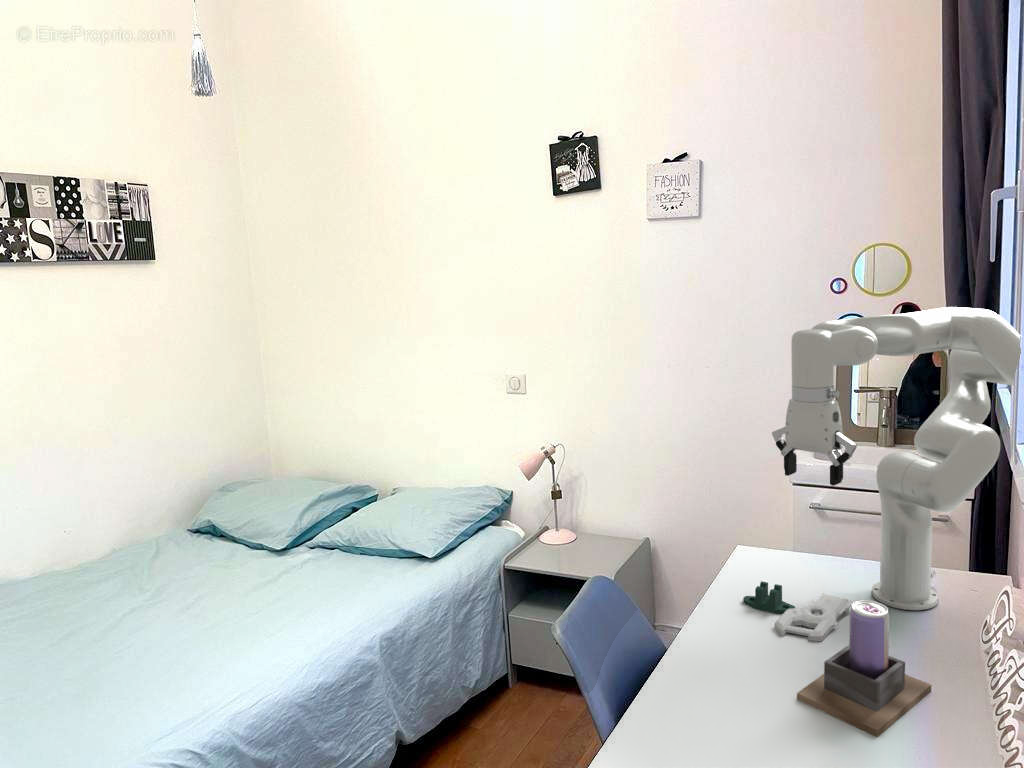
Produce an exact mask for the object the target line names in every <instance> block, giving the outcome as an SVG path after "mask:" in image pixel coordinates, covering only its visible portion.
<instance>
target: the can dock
mask: <svg viewBox="0 0 1024 768" xmlns="http://www.w3.org/2000/svg"><path fill="white" fill-rule="evenodd" d="M849 656H850V643H849V644H848V645H846V646H845V647H843V648H842V649H841V650H839V651H838V652H836V653H835V654H833V655H832V656H830V657H829V658H828V659H826V660H824V662H823V664H824V665H823V669H824V670H823V672H824V673H823V674H822V675H820V676H819V677H817V678H816V679H814V680H813V681H812V682H810V683H809V684H807V685H806V686H804V687H803V688H802V689H801V690H799V691H797V693H796V700H797V701H800V702H802V703H804V704H807V705H808V706H810V707H813V709H814V708H815V709H817V710H818V711H820V712H822V713H825V714H828V715H830V716H832V717H833V718H836V719H838V720H840V721H843V722H845V723H847V724H849V725H850V726H853V727H855V728H857V729H860V730H861V731H864V732H866V733H868V734H870V735H872V736H874V737H876V738H878V737H879V736H881V735H882V734H883V733H884V732H885V731H886V730H887V729H888V728H890V727H891V726H892V725H894V724H895V723H896V722H897V721H898V720H899V719H901V718H902V717H903V716H904V715H905V714H906V713H907V712H909V711H910V710H911V709H913V708H914V706H916V705H917V704H918V703H919V702H920V701H921V700H923V699H924V697H926V696H927V695H928V694H929V693H931V692H932V683H928V682H926V681H923V680H921V679H918V678H916V677H913V676H912V675H911V676H910V675H908V674H906V662H905V661H903V660H901V659H898V658H895V657H893V656H890V655H889V659H888V670H887V671H886V672H884V673H883V674H882V675H881V676H879V677H878V678H877V679H875V680H874V679H872V678H869V677H867V676H864V675H862V674H860V673H857V672H855V671H852V670H850V669H849Z"/></svg>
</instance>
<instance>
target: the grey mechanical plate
mask: <svg viewBox="0 0 1024 768" xmlns="http://www.w3.org/2000/svg"><path fill="white" fill-rule="evenodd" d="M851 605H852V603H850V602H849V600H848V599H847V598H843V597H837V596H833V595H829V594H827V593H822V594H821V595H820V597H818V598H817V600H816V601H814V600H813V599H812V600H811V601H810V602H809V603H808V604H805V605H804V606H801V607H798V608H797V607H795V608H793V609H788V610H786V611H785V612H784V613H783V614H780V617H778V619H777V620H776V621H774V630H775V631H776V632H778V633H779V635H781V636H782V637H785V635H786V634H787V633H791V634H795V635H800V636H805V637H808V642H823V641H824V639H825V638H827V636H828V635H829V633H830V632H831V631H832V630H834V629H836V628H837V627H838V623H839V622H838V621H837V619H838V618H839V617H840V616H842V614H843V613H844V612H845V611H846V610H847V609H848V610H849V609H850V608H851ZM799 626H802V627H799ZM803 626H804V628H803ZM805 627H806V628H805Z"/></svg>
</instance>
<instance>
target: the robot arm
mask: <svg viewBox="0 0 1024 768" xmlns="http://www.w3.org/2000/svg"><path fill="white" fill-rule="evenodd" d="M1020 336H1021V335H1020V334H1019V332H1018V331H1017V330H1016V329H1015V328H1014V327H1013V326H1012V325H1011V324H1010V323H1009V322H1007V320H1006V319H1004V318H1003V317H1002V316H1000V315H999V314H997V313H996V312H994V311H992V310H990V309H985V308H974V307H973V308H972V307H957V306H954V307H953V306H948V307H947V306H946V307H940V308H932V309H928V310H927V309H926V310H921V311H913V312H906V313H897V314H895V313H893V314H885V315H877V316H863V317H852V318H844V319H843V318H842V319H837V320H836V319H835V320H829V321H823V322H819V323H817V324H815V325H814V326H813V327H812V328H810V329H801V330H797V331H795V332H794V333H793V334H792V336H791V342H790V343H791V347H790V348H791V398H790V399H789V401H788V405H787V409H786V413H785V414H786V415H785V423H784V424H785V426H783V427H781V428H778V429H776V430H773V431H772V432H771V435H772V438H773V439H774V441H775V446H776V447H777V448H778V450H780V454H781V456H782V457H783V469H784V476H787V477H788V476H791V475H793V474H795V473H797V469H798V467H797V462H798V461H797V453H795V451H796V450H798V451H802V452H807V453H808V452H809V453H814V454H820V455H826V456H827V458H828V459H829V460H830V462H831V463H832V464H831V465H830V466H829V484H830V486H832V487H833V486H837V485H838V484H840V483H842V481H843V479H844V464H845V463H846V462H848V460H849V459H851V458H852V457H853V454H854V453H855V451H856V449H857V447H858V445H857V443H856V442H854V441H853V440H851V439H849V438H848V437H847V436H845V435H844V431H843V422H842V415H841V409H840V405H839V401H837V400H834V399H835V398H839V397H840V393H841V392H840V391H839V390H836V389H835V385H834V382H835V381H834V376H835V375H834V373H835V372H834V371H835V370H834V369H835V367H836V366H854V367H855V366H860V365H864V364H866V363H868V362H870V361H871V360H872V359H873V358H874V357H875V356H876V355H878V356H886V357H887V356H888V357H908V356H909V357H910V356H915V355H921V354H927V353H935V352H940V351H947V350H951V351H950V353H949V356H948V357H949V358H948V363H949V364H948V365H949V373H950V374H949V375H950V385H949V390H948V392H947V395H946V396H945V397H944V399H943V400H942V401H941V403H940V404H939V405H938V406H937V407H936V408H935V409H934V410H933V412H932V413H931V414H930V415H929V416H928V418H927V419H926V420H925V421H924V422H923V424H922V425H920V427H919V428H918V430H917V432H916V433H915V435H914V438H913V442H914V448H916V450H917V451H918V452H919V453H920V454H921V455H919V454H915V453H911V452H906V451H894V452H891V453H888V454H887V455H885V456H883V458H882V459H881V460H880V461H879V463H878V465H877V468H876V483H877V488H878V489H877V490H878V494H879V500H880V518H881V520H880V557H879V558H880V563H879V564H880V565H879V567H880V570H879V571H880V572H879V573H880V574H879V576H880V577H879V581H878V582H875V583H874V584H873V586H872V587H871V593H872V596H873V597H874V599H876V600H877V602H879V603H881V604H883V605H885V606H889V607H890V608H894V609H900V610H905V611H923V610H929V609H931V608H934V607H936V606H937V605H938V604H939V595H938V592H937V591H935V589H933V588H932V587H931V581H932V579H933V578H935V577H936V576H937V572H936V570H934V569H933V568H932V545H933V544H932V543H933V519H932V518H933V516H932V513H931V510H932V511H935V512H937V513H939V512H940V513H947V512H948V513H949V512H952V511H953V510H955V509H957V508H958V507H959V506H960V505H962V504H963V503H964V502H965V501H966V499H967V498H968V497H969V496H970V494H971V493H972V492H974V490H975V489H976V488H977V487H978V485H979V484H980V483H981V482H982V481H983V480H984V479H985V477H986V476H987V475H988V473H989V472H990V471H991V470H992V469H993V467H994V466H995V465H996V462H997V461H998V458H999V456H1000V452H1001V440H1000V436H999V435H998V434H997V432H996V431H995V429H993V428H991V427H989V426H987V425H986V424H983V423H984V422H985V420H986V419H987V418H988V415H989V414H990V412H991V407H992V405H991V398H990V395H989V388H988V385H987V383H993V384H1000V385H1006V386H1015V385H1014V375H1015V372H1016V369H1017V366H1018V363H1019V359H1020V354H1021V348H1020ZM783 435H784V437H783ZM843 447H844V448H843ZM842 449H844V452H843V453H842V451H841V450H842Z"/></svg>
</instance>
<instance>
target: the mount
mask: <svg viewBox="0 0 1024 768" xmlns="http://www.w3.org/2000/svg"><path fill="white" fill-rule="evenodd" d="M759 583H760V584H759V585H757V586H756V587H755V590H754V591H755V592H754V595H746V596H743V598H742V600H743V601H742V602H744V603H745V604H746V605H745V604H744V603H743V604H744V605H745V606H747V605H748V606H747V607H749V606H750V608H751V607H752V608H751V609H754V610H756V611H757V610H758V611H761V612H765V613H768V614H769V613H770V614H774V615H782V614H783V613H784V612H785V611H786V610H788V609H793V608H796V607H795V606H794V605H793V604H791V603H788V602H786V601H783V585H781V584H777V583H776V584H774V585H773V588H770V590H769V583H768V582H766V581H762V580H761V582H759Z"/></svg>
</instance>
